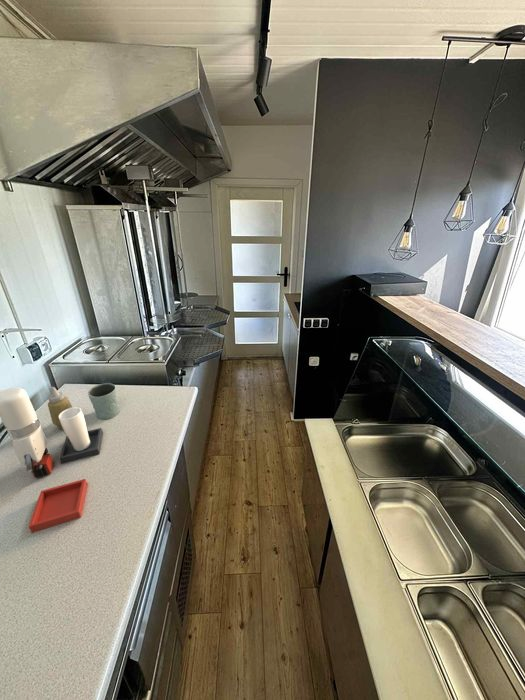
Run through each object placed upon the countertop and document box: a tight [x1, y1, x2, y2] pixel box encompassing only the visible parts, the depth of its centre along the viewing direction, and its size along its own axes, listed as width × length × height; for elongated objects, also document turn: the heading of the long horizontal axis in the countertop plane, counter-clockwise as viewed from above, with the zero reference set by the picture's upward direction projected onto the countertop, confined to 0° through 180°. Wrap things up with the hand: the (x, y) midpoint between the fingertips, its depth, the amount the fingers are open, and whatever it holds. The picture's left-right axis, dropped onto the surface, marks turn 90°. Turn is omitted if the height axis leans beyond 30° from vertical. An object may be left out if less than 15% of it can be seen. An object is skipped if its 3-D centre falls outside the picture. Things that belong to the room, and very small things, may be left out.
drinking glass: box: [59, 406, 91, 451], centre depth 100 cm, size 7×7×15 cm
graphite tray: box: [58, 427, 104, 465], centre depth 103 cm, size 12×12×2 cm
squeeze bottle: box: [47, 386, 73, 431], centre depth 110 cm, size 8×8×18 cm
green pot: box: [87, 382, 120, 421], centre depth 118 cm, size 10×10×12 cm
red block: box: [31, 453, 55, 478], centre depth 93 cm, size 4×4×4 cm
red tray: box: [28, 478, 88, 534], centre depth 82 cm, size 12×12×2 cm
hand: (44, 469), depth 94 cm, fingers closed on red block, 4 cm apart
